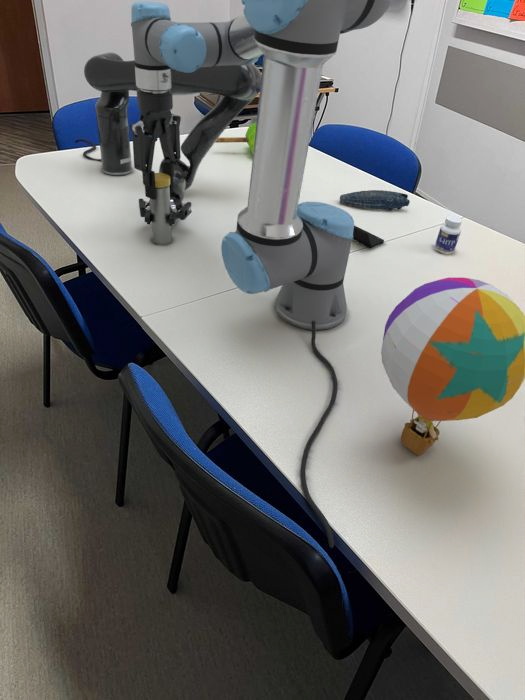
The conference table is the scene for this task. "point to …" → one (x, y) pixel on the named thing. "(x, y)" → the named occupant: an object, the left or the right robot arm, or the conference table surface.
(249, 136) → the decorative tree
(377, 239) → the handheld gaming console
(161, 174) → the lid
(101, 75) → the left robot arm
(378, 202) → the fish model
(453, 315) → the toy
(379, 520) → the conference table surface
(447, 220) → the pill bottle
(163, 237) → the grey metal canister
